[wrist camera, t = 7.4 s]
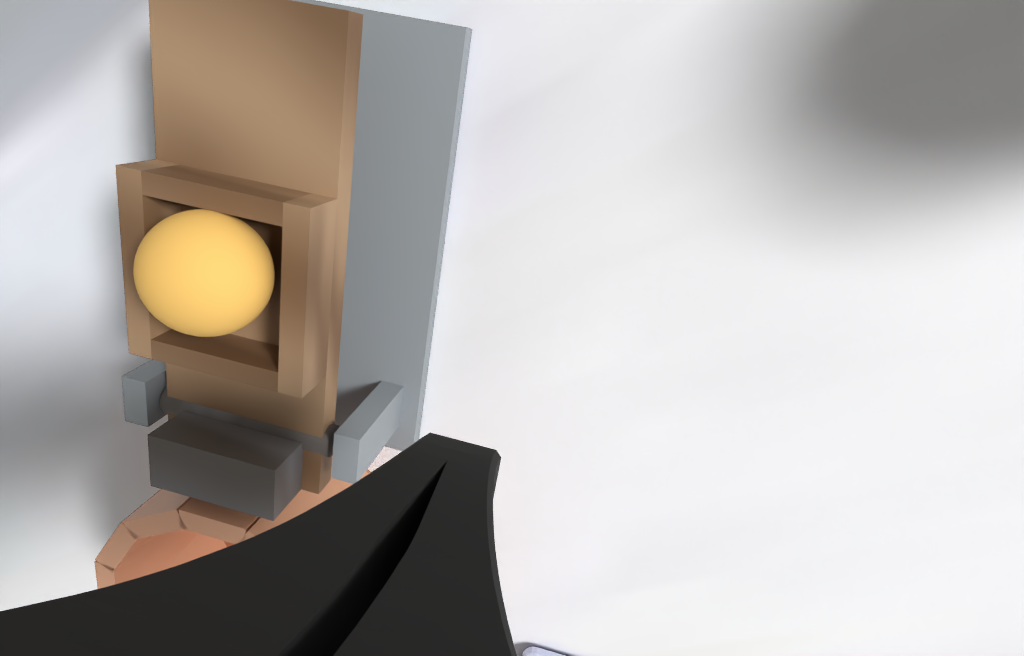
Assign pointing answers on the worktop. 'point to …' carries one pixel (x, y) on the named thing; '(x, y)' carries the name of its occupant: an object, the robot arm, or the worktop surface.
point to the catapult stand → (382, 237)
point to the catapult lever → (273, 215)
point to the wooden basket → (187, 532)
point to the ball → (204, 273)
